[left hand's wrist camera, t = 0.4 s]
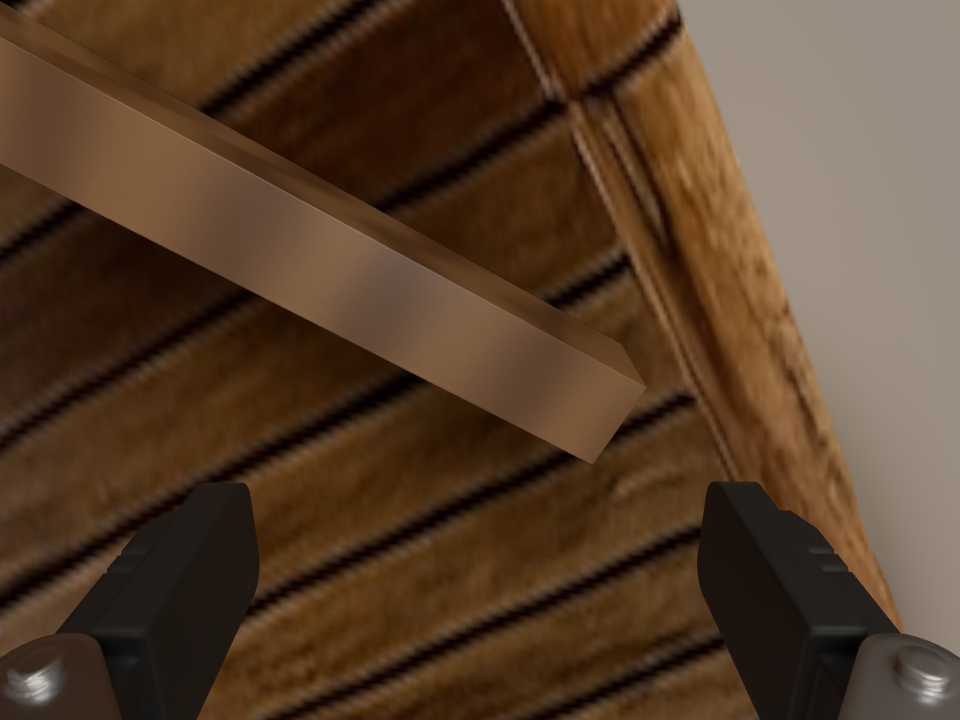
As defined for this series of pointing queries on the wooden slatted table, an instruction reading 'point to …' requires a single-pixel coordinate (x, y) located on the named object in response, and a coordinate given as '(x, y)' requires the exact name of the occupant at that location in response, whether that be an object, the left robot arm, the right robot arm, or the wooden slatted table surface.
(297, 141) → the wooden slatted table surface
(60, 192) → the post
